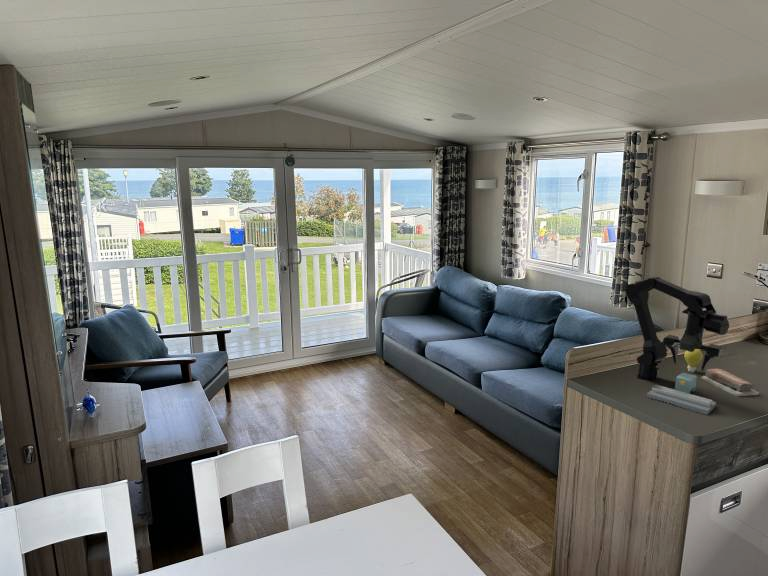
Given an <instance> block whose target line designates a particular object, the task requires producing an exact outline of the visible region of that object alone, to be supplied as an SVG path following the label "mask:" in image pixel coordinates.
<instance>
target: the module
mask: <svg viewBox="0 0 768 576" xmlns="http://www.w3.org/2000/svg"><path fill="white" fill-rule="evenodd" d="M697 378H698V376H697V375H694V374H689V373H686V372H681V373H679V375H677V376H676V377H675V385H674V390H678V391H681V392H685V393H688V394H691V392H693V391H694V392H695V391H696V386H697Z"/></svg>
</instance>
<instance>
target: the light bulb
mask: <svg viewBox="0 0 768 576" xmlns="http://www.w3.org/2000/svg"><path fill="white" fill-rule="evenodd" d="M703 358H704V355H703V352H702V350H700V349H695V350H694V351H693V352H689V351H687V350H685V352H684V359H685V361H686V363H687V368H686V369H687V371H688V372H689V371H690V372H689V373H695V371H696V370H697V366H698V365H699V364H700V363H701V362H702V361H703V360H704V359H703Z"/></svg>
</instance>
